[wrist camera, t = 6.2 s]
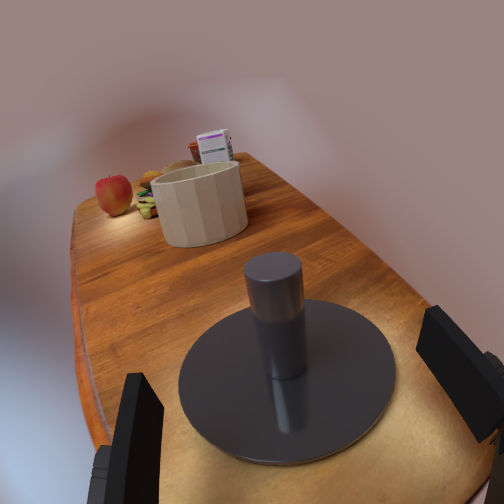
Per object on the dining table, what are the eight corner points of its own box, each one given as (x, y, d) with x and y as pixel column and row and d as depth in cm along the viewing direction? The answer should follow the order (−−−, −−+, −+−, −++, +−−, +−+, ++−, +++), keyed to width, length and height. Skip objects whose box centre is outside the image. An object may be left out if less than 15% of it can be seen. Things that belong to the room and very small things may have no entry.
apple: (135, 213, 64) (124, 172, 60) (98, 225, 62) (86, 184, 58) (138, 204, 73) (129, 167, 68) (105, 214, 71) (95, 178, 66)
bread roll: (213, 185, 76) (208, 155, 72) (158, 199, 73) (151, 170, 69) (208, 179, 84) (202, 153, 81) (158, 192, 81) (152, 166, 78)
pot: (261, 212, 49) (252, 157, 45) (222, 249, 39) (208, 179, 34) (195, 214, 55) (184, 165, 51) (148, 245, 44) (132, 188, 40)
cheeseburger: (128, 220, 60) (123, 174, 57) (160, 213, 69) (157, 172, 67) (160, 219, 55) (156, 167, 53) (193, 212, 64) (190, 167, 62)
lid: (396, 316, 22) (407, 217, 18) (373, 489, 10) (423, 407, 6) (237, 300, 28) (218, 214, 24) (144, 422, 16) (80, 326, 12)
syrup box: (238, 200, 59) (225, 129, 52) (209, 204, 59) (195, 134, 53) (240, 192, 64) (229, 127, 58) (214, 196, 65) (202, 132, 58)
